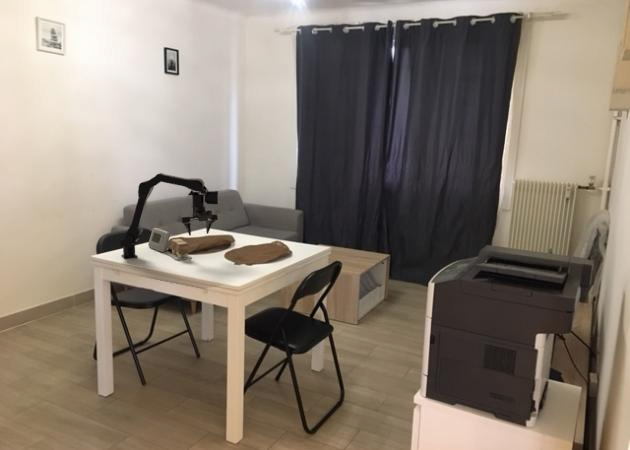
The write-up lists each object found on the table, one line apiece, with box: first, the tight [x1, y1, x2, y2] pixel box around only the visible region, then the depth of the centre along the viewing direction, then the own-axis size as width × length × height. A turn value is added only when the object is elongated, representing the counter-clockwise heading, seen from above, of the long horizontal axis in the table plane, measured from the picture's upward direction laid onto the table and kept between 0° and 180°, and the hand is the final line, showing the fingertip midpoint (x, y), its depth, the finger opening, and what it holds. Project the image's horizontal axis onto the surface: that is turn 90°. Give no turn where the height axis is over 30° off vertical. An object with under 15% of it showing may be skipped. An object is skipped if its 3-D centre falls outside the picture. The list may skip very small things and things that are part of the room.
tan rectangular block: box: [170, 238, 189, 254], centre depth 257 cm, size 12×4×5 cm, turn 34°
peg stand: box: [168, 249, 192, 261], centre depth 258 cm, size 12×8×3 cm, turn 34°
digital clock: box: [147, 227, 171, 253], centre depth 271 cm, size 16×9×11 cm, turn 34°
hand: (198, 234), depth 256 cm, fingers open, 9 cm apart
